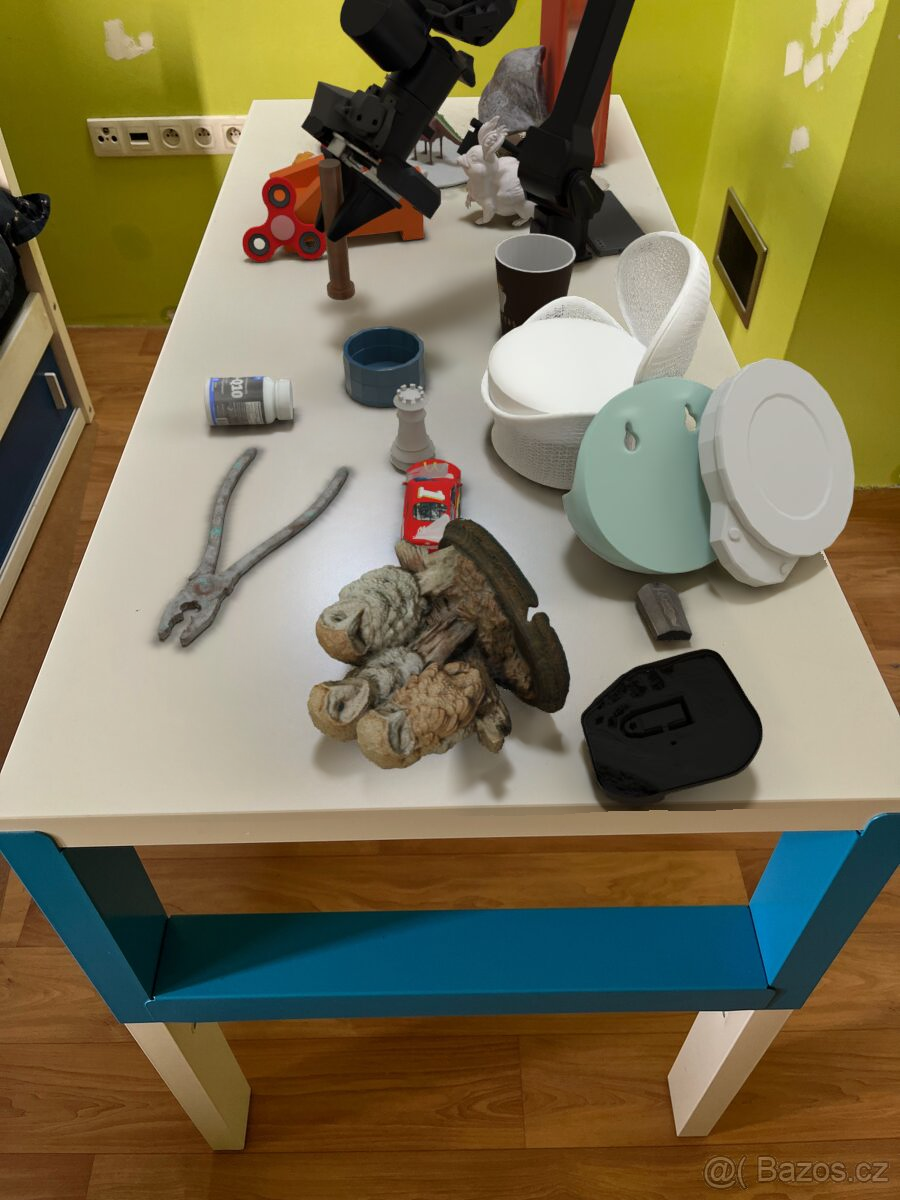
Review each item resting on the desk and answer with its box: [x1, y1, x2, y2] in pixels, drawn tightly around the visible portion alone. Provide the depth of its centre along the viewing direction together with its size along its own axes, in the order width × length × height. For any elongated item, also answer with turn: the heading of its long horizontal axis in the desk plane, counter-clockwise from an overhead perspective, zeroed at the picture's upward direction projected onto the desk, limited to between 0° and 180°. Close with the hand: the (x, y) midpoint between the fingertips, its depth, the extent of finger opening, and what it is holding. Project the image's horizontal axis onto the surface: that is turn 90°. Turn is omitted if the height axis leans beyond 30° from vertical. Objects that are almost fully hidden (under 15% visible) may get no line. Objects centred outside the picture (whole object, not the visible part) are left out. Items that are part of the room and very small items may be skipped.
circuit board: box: [470, 126, 523, 154], centre depth 149 cm, size 8×8×1 cm
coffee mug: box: [494, 233, 576, 338], centre depth 110 cm, size 12×9×10 cm
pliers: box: [157, 446, 349, 646], centre depth 88 cm, size 11×1×25 cm
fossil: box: [477, 44, 549, 137], centre depth 141 cm, size 15×14×10 cm
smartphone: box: [587, 189, 652, 257], centre depth 130 cm, size 7×1×15 cm
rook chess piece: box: [389, 384, 437, 473], centre depth 94 cm, size 4×4×8 cm
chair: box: [480, 230, 712, 491], centre depth 91 cm, size 20×20×20 cm
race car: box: [400, 458, 463, 553], centre depth 89 cm, size 13×5×4 cm, turn 177°
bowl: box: [342, 325, 426, 408], centre depth 104 cm, size 8×8×4 cm
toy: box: [241, 177, 327, 263], centre depth 122 cm, size 10×10×1 cm
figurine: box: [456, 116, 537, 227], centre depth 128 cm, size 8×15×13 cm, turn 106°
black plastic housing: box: [580, 648, 764, 807], centre depth 72 cm, size 12×10×5 cm
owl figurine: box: [306, 516, 571, 771], centre depth 72 cm, size 18×12×17 cm
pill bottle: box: [203, 375, 294, 427], centre depth 100 cm, size 5×5×8 cm
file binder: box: [539, 0, 614, 167], centre depth 138 cm, size 8×17×32 cm, turn 4°
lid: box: [698, 357, 856, 588], centre depth 85 cm, size 17×20×3 cm
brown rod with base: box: [318, 159, 356, 301], centre depth 102 cm, size 3×3×14 cm
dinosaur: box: [383, 72, 469, 189], centre depth 141 cm, size 18×18×11 cm
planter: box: [561, 376, 719, 575], centre depth 86 cm, size 19×7×16 cm
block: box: [634, 581, 693, 642], centre depth 81 cm, size 4×6×2 cm, turn 10°
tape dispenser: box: [268, 152, 425, 255], centre depth 128 cm, size 18×13×8 cm
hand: (323, 235), depth 102 cm, fingers closed on brown rod with base, 2 cm apart
